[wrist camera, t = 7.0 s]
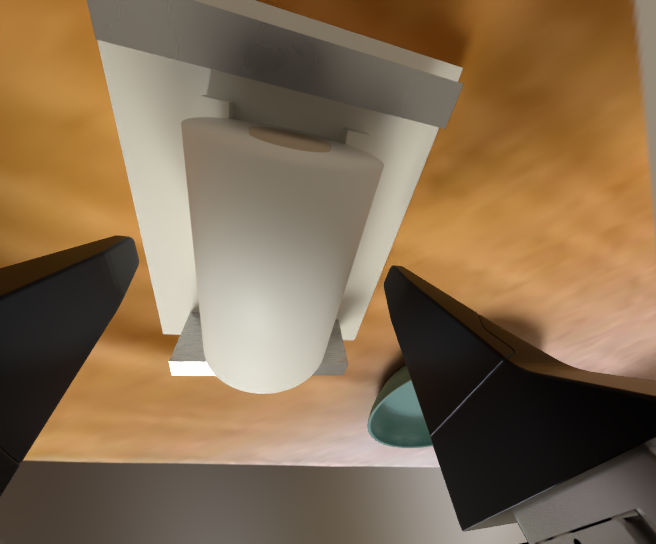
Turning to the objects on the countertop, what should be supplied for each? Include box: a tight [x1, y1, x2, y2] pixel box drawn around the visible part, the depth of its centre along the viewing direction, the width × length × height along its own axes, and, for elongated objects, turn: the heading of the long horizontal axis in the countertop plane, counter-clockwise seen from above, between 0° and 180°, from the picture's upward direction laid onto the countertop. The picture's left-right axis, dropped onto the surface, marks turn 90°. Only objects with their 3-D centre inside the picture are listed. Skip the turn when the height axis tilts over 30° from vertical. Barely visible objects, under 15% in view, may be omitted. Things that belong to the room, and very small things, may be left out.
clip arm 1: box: [169, 312, 348, 375], centre depth 13 cm, size 1×8×3 cm, turn 78°
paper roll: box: [181, 117, 384, 394], centre depth 9 cm, size 8×5×5 cm, turn 168°
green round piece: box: [368, 365, 433, 448], centre depth 23 cm, size 15×15×3 cm
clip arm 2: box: [87, 0, 463, 129], centre depth 7 cm, size 1×8×3 cm, turn 78°
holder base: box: [97, 0, 463, 340], centre depth 11 cm, size 14×11×2 cm
